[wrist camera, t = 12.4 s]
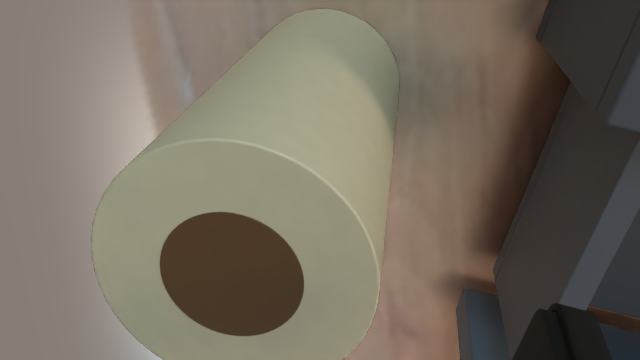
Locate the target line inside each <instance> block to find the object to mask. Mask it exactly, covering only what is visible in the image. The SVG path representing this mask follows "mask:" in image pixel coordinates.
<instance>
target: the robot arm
mask: <svg viewBox="0 0 640 360" xmlns="http://www.w3.org/2000/svg"><path fill="white" fill-rule="evenodd" d="M512 360H612V358H611V355H610V353H609V350H608V347H607V344H606V342H605V339H604V336H603V334H602V331H601V328H600V325H599V323H598V320H597V318H596V316H595V314H593V313H592V312H589V311H585V310H582V309H578V308H574V307H570V306H567V305H563V304H559V303H553V304H552V305H551V306H550V307H549V308H548V310H545V309H538V310H537V311H536V312H535V314H534V315H533V317H532V319H531V321H530V323H529V325H528V328H527V330H526V332H525V334H524V336H523V338H522V340H521V342H520V344H519V346H518V348H517V350H516V352H515V354H514V356H513V358H512Z"/></svg>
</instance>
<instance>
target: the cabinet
mask: <svg viewBox="0 0 640 360" xmlns="http://www.w3.org/2000/svg"><path fill="white" fill-rule="evenodd" d="M536 38H537V40H538V41H539V42H540V43H541V44H542V46H543V47H544V48H545V49H546V51H547V52H548V53H549V54H550V56H551V57H552V58H553V59H554V61H555V62H556V63H557V65H558V66H559V67H560V68H561V70H562V71H563V72H564V73H565V75H566V76H567V77H568V78H569V80H570V81H571V82H572V83H573V85H574V86H575V87H576V88H577V90H578V91H579V92H580V93H581V95H582V96H583V97H584V98H585V100H586V101H587V102H588V103H589V105H590V106H591V107H592V108H593V110H594V111H595V112H596V113H597V114H598V116H599V117H600V118H601V119H602V121H603V122H604V123H605V124H606V125H609V126H613V127H617V128H621V129H625V130H629V131H633V132H637V133H640V0H550V1H549V3H548V6H547V9H546V11H545V14H544V17H543V19H542V22H541V25H540V27H539V30H538V33H537V36H536Z"/></svg>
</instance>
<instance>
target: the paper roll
mask: <svg viewBox="0 0 640 360" xmlns="http://www.w3.org/2000/svg"><path fill="white" fill-rule="evenodd" d="M399 87H400V82H399V72H398V68H397V64H396V61H395V58H394V55H393V53H392V51H391V49H390V48H389V46H388V44H387V43H386V42H385V40H384V39H383V37H382V36H381V35H380V34H379V33H378V32H377V31H376V30H375V29H374V28H373V27H371V26H370V25H369V24H368V23H366V22H365V21H363V20H361V19H360V18H358V17H356V16H353V15H351V14H349V13H345V12H342V11H338V10H332V9H313V10H307V11H303V12H299V13H297V14H294V15H292V16H290V17H288V18H286V19H284V20H283V21H281V22H280V23H279V24H277V25H276V26H275V27H274V28H272V29H271V30H270V31H269V32H268V33H267V34H266V35H265V36H264V37H263V38H262V39H261V40H260V41H259V42H258V43H257V44H255V45H254V46H253V47H252V48H251V49H250V50H249V51H248V52H247V53H246V54H245V55H244V56H243V57H242V58H241V59H240V60H238V61H237V62H236V63H235V64H234V65H233V66H232V67H231V68H230V69H229V70H228V71H227V72H226V73H225V74H224V75H223V76H221V77H220V78H219V79H218V80H217V81H216V82H215V83H214V84H213V85H212V86H211V87H210V88H209V89H208V90H207V91H206V92H205V93H203V94H202V95H201V96H200V97H199V98H198V99H197V100H196V101H195V102H194V103H193V104H192V105H191V106H190V107H189V108H188V109H186V110H185V111H184V112H183V113H182V114H181V115H180V116H179V117H178V118H177V119H176V120H175V121H174V122H173V123H172V124H171V125H169V126H168V127H167V128H166V129H165V130H164V131H163V132H162V133H161V134H160V135H159V136H158V137H157V138H156V139H155V140H154V141H152V142H151V143H150V144H149V145H148V146H147V147H146V148H145V149H144V150H143V151H142V152H141V153H140V154H139V155H138V156H137V157H136V158H134V159H133V160H132V161H131V162H130V163H129V164H128V165H127V166H126V167H125V168H124V169H123V170H122V171H121V172H120V173H119V174H118V175H117V176H116V177H115V178H114V179H113V181H112V182H111V183H110V185H109V186H108V188H107V189H106V191H105V192H104V194H103V196H102V198H101V201H100V202H99V204H98V207H97V210H96V213H95V217H94V220H93V225H92V235H91V254H92V261H93V266H94V271H95V274H96V277H97V280H98V283H99V286H100V288H101V290H102V293H103V295H104V297H105V299H106V301H107V303H108V304H109V306H110V307H111V309H112V311H113V312H114V314H115V315H116V316H117V318H118V319H119V320H120V322H121V323H122V324H123V325H124V327H125V328H126V329H127V330H128V331H129V332H130V333H131V334H132V335H133V336H134V337H135V338H136V339H137V340H138V341H139V342H140V343H141V344H143V345H144V346H145V347H146V348H147V349H149V350H150V351H151V352H153V353H154V354H155V355H157V356H158V357H160V358H161V359H163V360H344V359H345V358H346V357H347V356H348V355H349V354H351V353H352V351H353V350H354V349H355V348H356V347H357V346H358V344H359V343H360V342H361V341H362V339H363V338H364V336H365V334H366V333H367V331H368V330H369V328H370V326H371V323H372V321H373V318H374V316H375V313H376V309H377V305H378V300H379V294H380V284H381V274H382V263H383V253H384V243H385V233H386V222H387V212H388V202H389V192H390V181H391V171H392V161H393V150H394V140H395V130H396V120H397V109H398V99H399Z"/></svg>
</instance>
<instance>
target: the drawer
mask: <svg viewBox="0 0 640 360" xmlns="http://www.w3.org/2000/svg"><path fill="white" fill-rule="evenodd" d="M493 272H494V278H495V283H496V288H497V293H498V296H494V295H490V294H486V293H482V292H478V291H474V290H471V289H467V288H465V289H464V290H463V293H462V295H461V298H460V300H459V303H458V305H457V308H456V316H457V327H458V338H459V349H460V360H512V358H513V356H514V354H515V352H516V350H517V348H518V346H519V344H520V342H521V340H522V338H523V336H524V334H525V332H526V330H527V328H528V325H529V323H530V321H531V319H532V317H533V315H534V314H535V312H536V311H537V310H538V309H545V310H548V308H549V307H550V306H551V305H552V304H553V303H559V304H563V305H567V306H570V307H574V308H578V309H582V310H585V311H586V309H587V307H588V305H590V306H594V307H598V308H602V309H606V310H610V311H614V312H618V313H622V314H625V315H629V316H633V317H637V318H640V133H637V132H633V131H629V130H625V129H621V128H617V127H613V126H609V125H606V124H605V123H604V122H603V121H602V119H601V118H600V117H599V116H598V114H597V113H596V112H595V111H594V110H593V108H592V107H591V106H590V105H589V103H588V102H587V101H586V100H585V98H584V97H583V96H582V95H581V93H580V92H579V91H578V90H577V88H576V87H575V86H574V85H573V83H572V82H570V84H569V87H568V89H567V92H566V94H565V96H564V99H563V101H562V104H561V106H560V108H559V111H558V113H557V116H556V118H555V121H554V123H553V125H552V128H551V130H550V133H549V135H548V137H547V140H546V142H545V145H544V147H543V150H542V152H541V154H540V157H539V159H538V162H537V164H536V167H535V169H534V171H533V174H532V176H531V179H530V181H529V183H528V186H527V188H526V191H525V193H524V196H523V198H522V200H521V203H520V205H519V208H518V210H517V212H516V215H515V217H514V220H513V222H512V225H511V227H510V229H509V232H508V234H507V237H506V239H505V242H504V244H503V246H502V249H501V251H500V254H499V256H498V258H497V261H496V263H495V266H494V268H493ZM598 323H599V322H598ZM599 325H600V328H601V331H602V334H603V336H604V339H605V342H606V344H607V347H608V350H609V353H610V355H611V358H612V360H640V333H638V332H634V331H630V330H626V329H622V328H618V327H614V326H610V325H606V324H603V323H599Z"/></svg>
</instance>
